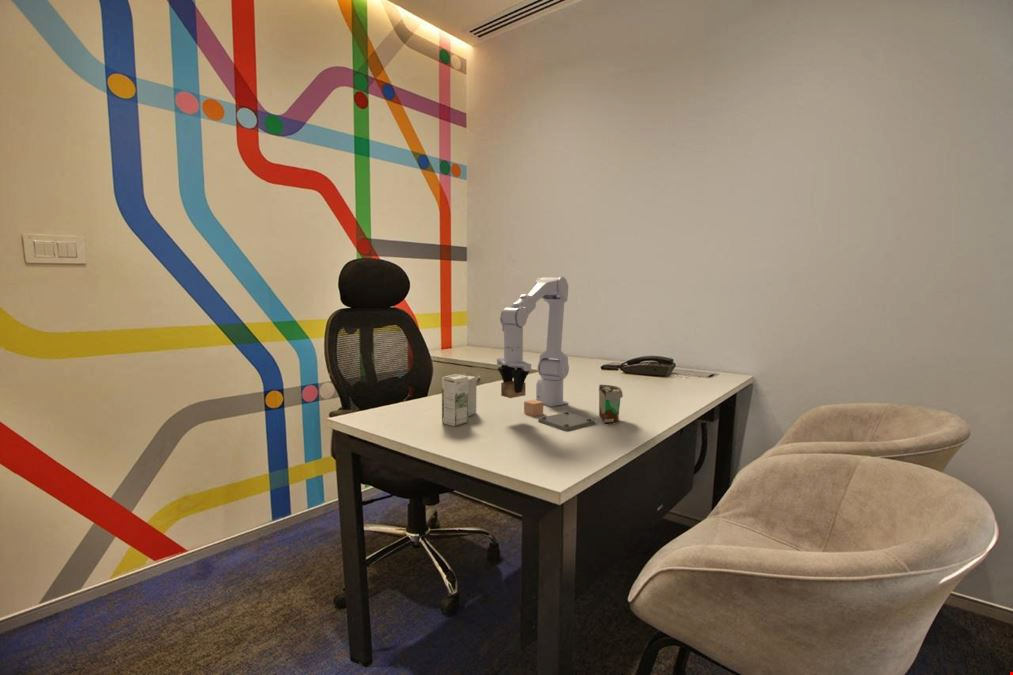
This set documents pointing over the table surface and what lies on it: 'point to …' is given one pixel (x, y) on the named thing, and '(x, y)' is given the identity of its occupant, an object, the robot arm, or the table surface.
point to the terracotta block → (533, 407)
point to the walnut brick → (511, 390)
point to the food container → (609, 403)
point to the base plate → (566, 421)
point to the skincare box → (471, 395)
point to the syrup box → (454, 399)
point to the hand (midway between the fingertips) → (513, 390)
